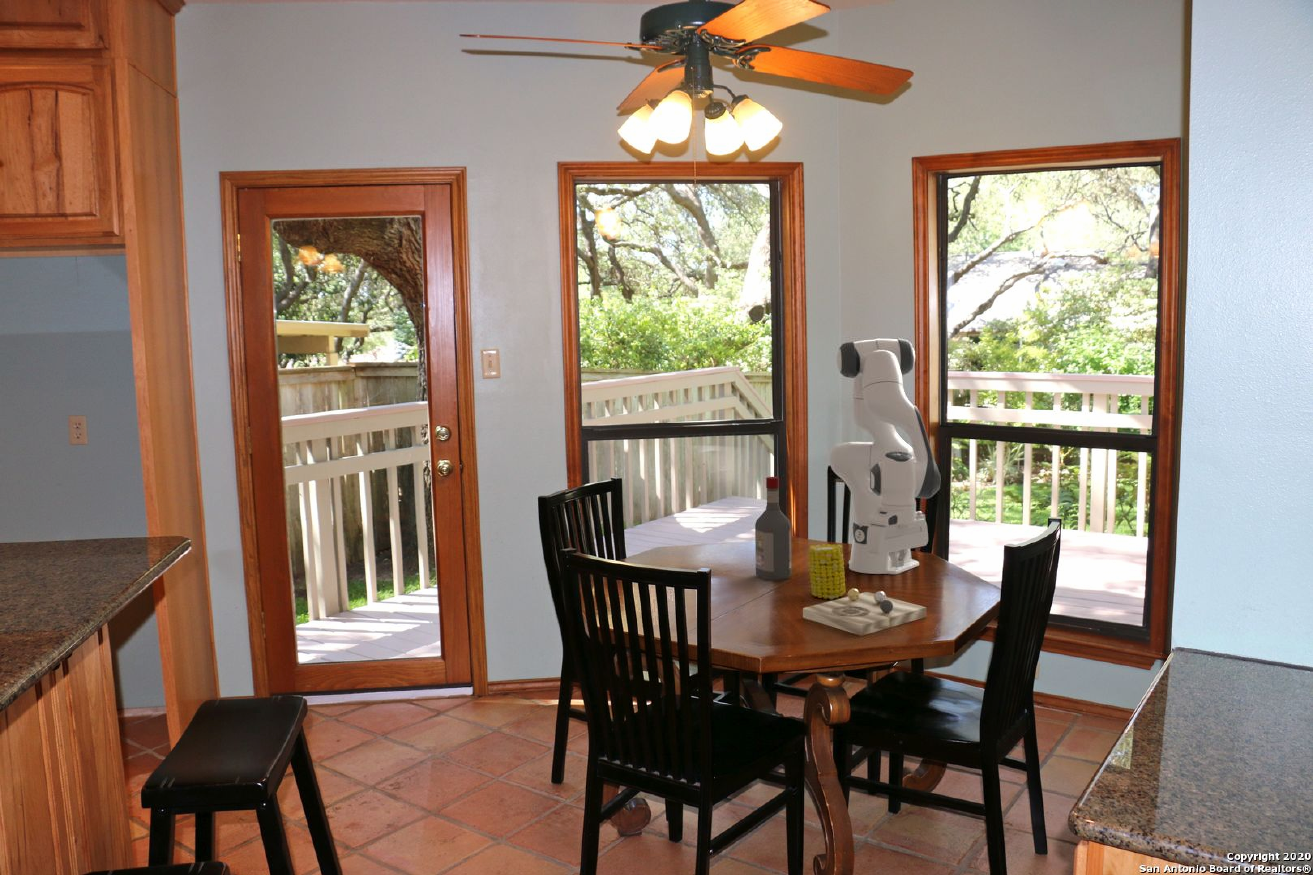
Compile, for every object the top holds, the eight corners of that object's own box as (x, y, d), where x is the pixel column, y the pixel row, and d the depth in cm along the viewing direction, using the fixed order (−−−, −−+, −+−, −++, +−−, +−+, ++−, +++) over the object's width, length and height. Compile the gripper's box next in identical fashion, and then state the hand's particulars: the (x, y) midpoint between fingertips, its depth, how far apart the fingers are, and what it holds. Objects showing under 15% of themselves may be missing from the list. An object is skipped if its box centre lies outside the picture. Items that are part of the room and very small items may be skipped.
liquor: (768, 582, 297) (766, 480, 293) (752, 575, 305) (751, 476, 302) (794, 578, 300) (793, 478, 297) (778, 571, 309) (777, 474, 305)
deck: (866, 600, 274) (866, 591, 274) (926, 616, 258) (926, 607, 258) (802, 617, 260) (802, 608, 260) (861, 635, 244) (861, 625, 244)
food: (825, 607, 274) (805, 600, 284) (860, 592, 279) (840, 585, 288) (813, 554, 272) (793, 549, 281) (848, 540, 276) (828, 535, 286)
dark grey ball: (885, 609, 257) (886, 597, 256) (895, 612, 254) (895, 600, 254) (877, 612, 255) (877, 599, 254) (887, 615, 252) (887, 602, 252)
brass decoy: (853, 598, 268) (853, 586, 268) (862, 600, 266) (862, 588, 265) (844, 600, 266) (844, 588, 266) (853, 602, 264) (853, 590, 263)
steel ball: (879, 601, 265) (879, 589, 264) (889, 603, 262) (889, 591, 262) (871, 603, 263) (871, 591, 262) (880, 605, 260) (880, 593, 260)
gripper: (915, 508, 272) (914, 559, 274) (862, 517, 261) (862, 570, 262) (934, 511, 267) (933, 563, 269) (881, 520, 255) (881, 574, 257)
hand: (898, 566), depth 265 cm, fingers closed
